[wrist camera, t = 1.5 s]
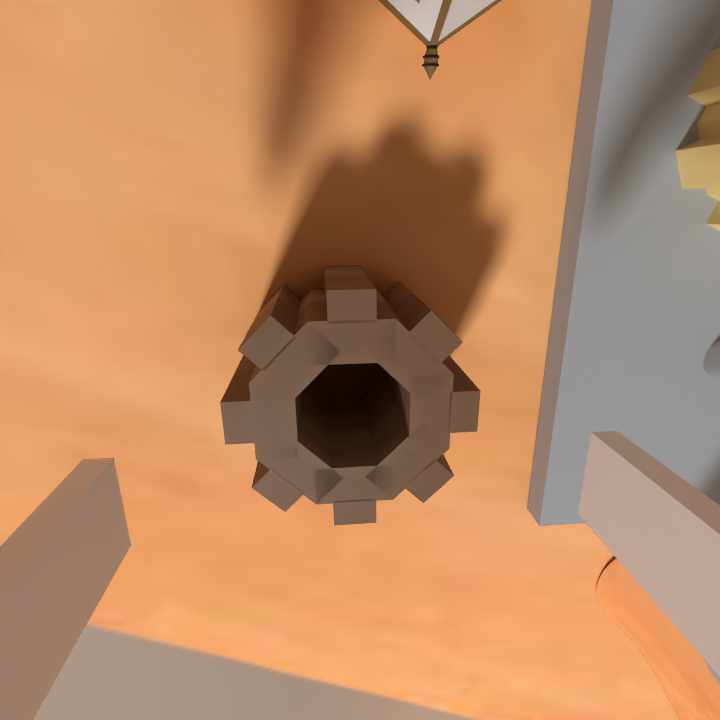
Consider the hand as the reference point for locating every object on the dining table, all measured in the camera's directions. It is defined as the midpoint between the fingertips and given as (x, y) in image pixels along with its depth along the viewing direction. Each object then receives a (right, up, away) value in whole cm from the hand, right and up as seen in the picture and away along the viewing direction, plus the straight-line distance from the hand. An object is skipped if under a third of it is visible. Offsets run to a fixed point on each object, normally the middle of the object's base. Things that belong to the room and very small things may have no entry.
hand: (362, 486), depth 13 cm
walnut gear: (-1, +3, +9) cm, 10 cm away
